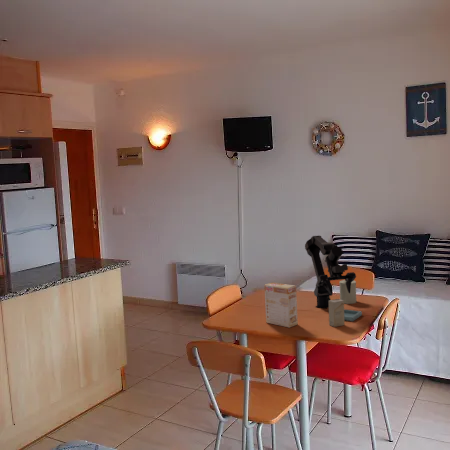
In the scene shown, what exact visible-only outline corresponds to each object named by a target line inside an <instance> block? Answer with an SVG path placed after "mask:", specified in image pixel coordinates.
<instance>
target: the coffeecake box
mask: <svg viewBox="0 0 450 450" xmlns="http://www.w3.org/2000/svg"><path fill="white" fill-rule="evenodd" d="M264 301H265V302H264V305H265V319H266V320H265V322H266V323H268V324H272V325H275V326H280V327H285V328H292V327H295V326H297V325H298V301H297V285H294V284H285V283H280V282H269V283H266V284H264Z"/></svg>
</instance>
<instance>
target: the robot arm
mask: <svg viewBox="0 0 450 450" xmlns="http://www.w3.org/2000/svg"><path fill="white" fill-rule="evenodd" d="M304 249H305V251H306V253H307V255H308V256H309V257H310V258H311V261H312V265H313V269H314V272H315V276H316V283H315V288H314V291H313V294H314V296H315V297H316V305H315V308H321V309H329V300H331V297H332V296H333V290H334V288H333V285H332V283H331V281H342V280H345V281H346V287H347V290H348V292H349V293H350V289H351V282H352V281H355V280H356V278H357V275H356V273H355V272H353V271H351V272H346V271H348V270H349V267H348V264H347V263H343V264H342V265H340V264H339V260H340V259H341V257H342V256H343V254H344V251H343V249H342V248H341V247H339V246H338V245H337V244H335V243H333V242H328V241H327V240H325V239H324V238H323V237H322V236H321V235H312V236H311V237H310V239H308V240H306V242H305V244H304ZM321 254H322V255H323V256H325V260H324V261H325V263H326V266H327V273H328V274H329V276H328V274H325V271H324V270H325V269H324V266H323V263H322V262H323V261H322V259H321ZM345 272H346V274H345V275H344V273H345Z"/></svg>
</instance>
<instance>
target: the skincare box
mask: <svg viewBox="0 0 450 450" xmlns="http://www.w3.org/2000/svg"><path fill="white" fill-rule="evenodd" d="M344 309H345V304H344V300H341V299H340V298H336V299H330V300H329V307H328V323H329V324H328V325H329V326H331V327H334V328H337V327H341V326H344V325H346V324H345V320H344Z"/></svg>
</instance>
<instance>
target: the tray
mask: <svg viewBox="0 0 450 450" xmlns="http://www.w3.org/2000/svg"><path fill="white" fill-rule="evenodd" d="M361 316H363V314H362V311H361V310H354V309H353V310H352V309H345V308H344V322H345V321H346V322H347V321H348V322H354V321H356V320H357V319H358V318H360V317H361Z"/></svg>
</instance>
